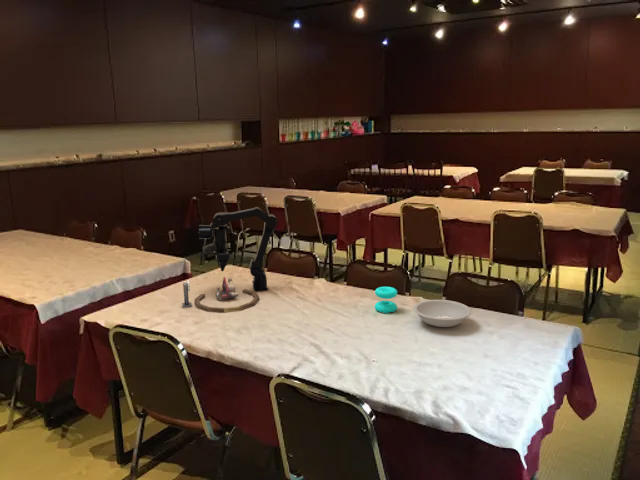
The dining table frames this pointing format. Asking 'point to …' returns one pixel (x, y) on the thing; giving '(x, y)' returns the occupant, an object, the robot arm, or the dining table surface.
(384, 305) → the donuts
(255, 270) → the robot arm
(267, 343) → the dining table surface
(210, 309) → the bent brown bar
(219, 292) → the brake caliper
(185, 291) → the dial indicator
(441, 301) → the soup bowl
